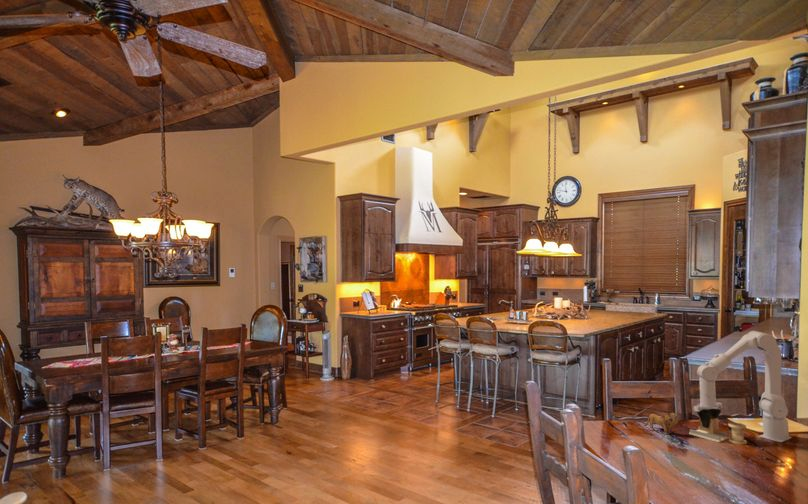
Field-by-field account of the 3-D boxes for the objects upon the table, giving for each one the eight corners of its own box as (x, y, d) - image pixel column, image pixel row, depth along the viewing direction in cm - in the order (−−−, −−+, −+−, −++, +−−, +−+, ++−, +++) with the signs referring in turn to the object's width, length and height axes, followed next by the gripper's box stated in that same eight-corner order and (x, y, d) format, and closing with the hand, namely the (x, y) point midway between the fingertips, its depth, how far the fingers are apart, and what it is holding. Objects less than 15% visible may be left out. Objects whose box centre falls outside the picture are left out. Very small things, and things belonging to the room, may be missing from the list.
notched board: (700, 430, 213) (700, 425, 213) (730, 438, 203) (730, 433, 203) (689, 434, 209) (688, 429, 209) (718, 442, 198) (718, 437, 198)
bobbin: (733, 438, 202) (732, 421, 203) (749, 442, 197) (748, 425, 197) (725, 441, 199) (725, 424, 199) (742, 445, 194) (741, 428, 194)
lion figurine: (680, 434, 209) (680, 412, 209) (675, 437, 206) (674, 415, 206) (646, 425, 220) (645, 405, 221) (640, 428, 217) (640, 408, 217)
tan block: (705, 428, 209) (705, 414, 209) (718, 432, 204) (718, 418, 204) (699, 429, 208) (699, 415, 208) (712, 433, 202) (712, 419, 203)
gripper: (704, 398, 200) (705, 431, 200) (728, 394, 205) (730, 427, 205) (688, 394, 207) (689, 426, 206) (713, 390, 212) (714, 422, 211)
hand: (708, 426), depth 206 cm, fingers closed on tan block, 3 cm apart
